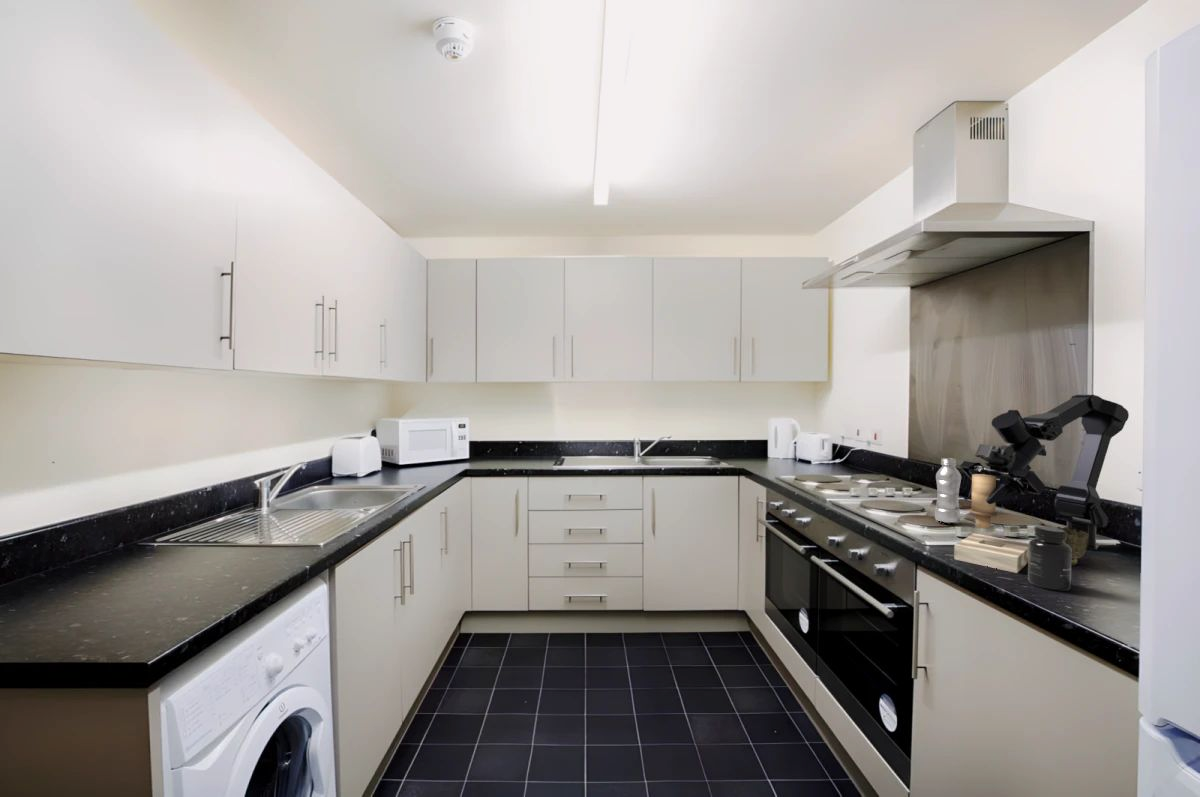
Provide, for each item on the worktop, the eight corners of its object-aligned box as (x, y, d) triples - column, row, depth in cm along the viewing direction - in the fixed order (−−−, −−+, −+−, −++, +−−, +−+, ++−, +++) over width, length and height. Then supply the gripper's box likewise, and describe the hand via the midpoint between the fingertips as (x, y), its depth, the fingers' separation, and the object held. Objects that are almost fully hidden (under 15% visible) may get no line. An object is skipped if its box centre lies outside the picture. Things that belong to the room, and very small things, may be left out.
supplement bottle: (1074, 594, 102) (1076, 535, 102) (1030, 587, 106) (1032, 530, 106) (1066, 583, 108) (1067, 527, 108) (1024, 577, 112) (1026, 522, 112)
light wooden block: (973, 546, 134) (973, 533, 134) (1032, 558, 125) (1032, 544, 125) (954, 559, 123) (954, 544, 123) (1017, 573, 114) (1017, 557, 114)
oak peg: (973, 522, 131) (974, 473, 131) (999, 527, 127) (1001, 476, 127) (965, 526, 128) (966, 475, 128) (993, 531, 124) (994, 478, 123)
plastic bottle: (930, 520, 161) (931, 457, 160) (953, 521, 160) (954, 458, 160) (940, 525, 154) (942, 460, 154) (965, 526, 153) (966, 460, 153)
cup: (1070, 558, 125) (1071, 526, 124) (1097, 569, 117) (1098, 534, 117) (1038, 557, 125) (1038, 525, 125) (1062, 568, 118) (1062, 533, 118)
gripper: (966, 430, 137) (929, 472, 135) (1035, 437, 118) (993, 485, 117) (991, 459, 138) (954, 501, 137) (1063, 470, 120) (1022, 518, 118)
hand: (978, 500), depth 127 cm, fingers closed on oak peg, 5 cm apart
